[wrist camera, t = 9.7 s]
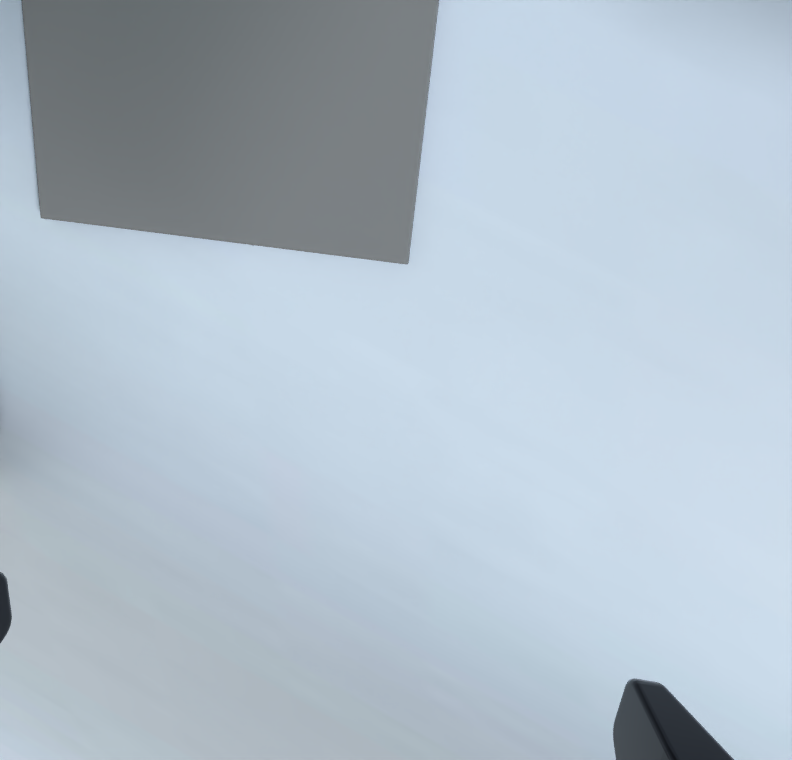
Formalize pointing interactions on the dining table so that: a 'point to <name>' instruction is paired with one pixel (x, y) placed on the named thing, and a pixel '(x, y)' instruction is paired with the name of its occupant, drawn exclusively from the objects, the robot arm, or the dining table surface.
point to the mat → (234, 118)
